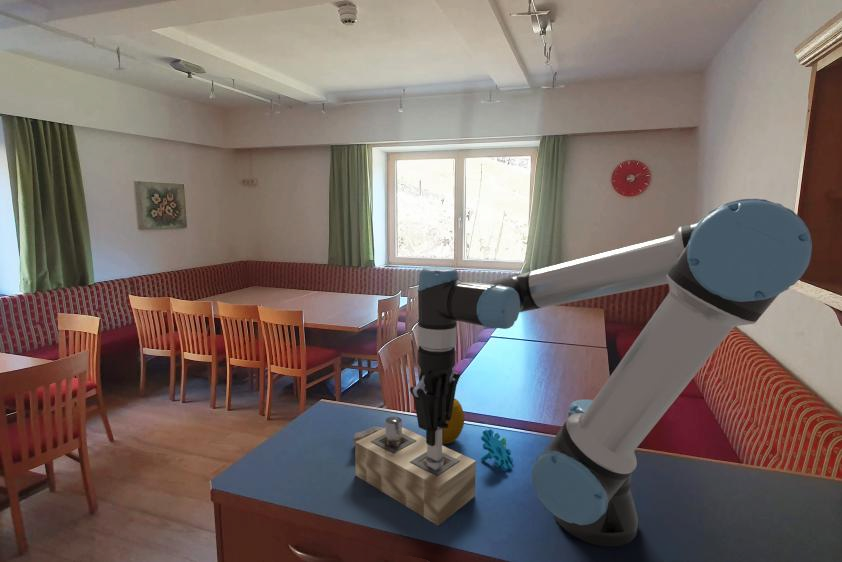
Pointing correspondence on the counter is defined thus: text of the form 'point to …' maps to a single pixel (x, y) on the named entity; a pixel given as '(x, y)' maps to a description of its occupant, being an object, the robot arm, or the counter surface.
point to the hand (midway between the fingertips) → (434, 457)
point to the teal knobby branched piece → (496, 449)
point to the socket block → (416, 474)
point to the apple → (454, 424)
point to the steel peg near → (434, 463)
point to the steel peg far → (393, 431)
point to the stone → (365, 433)
